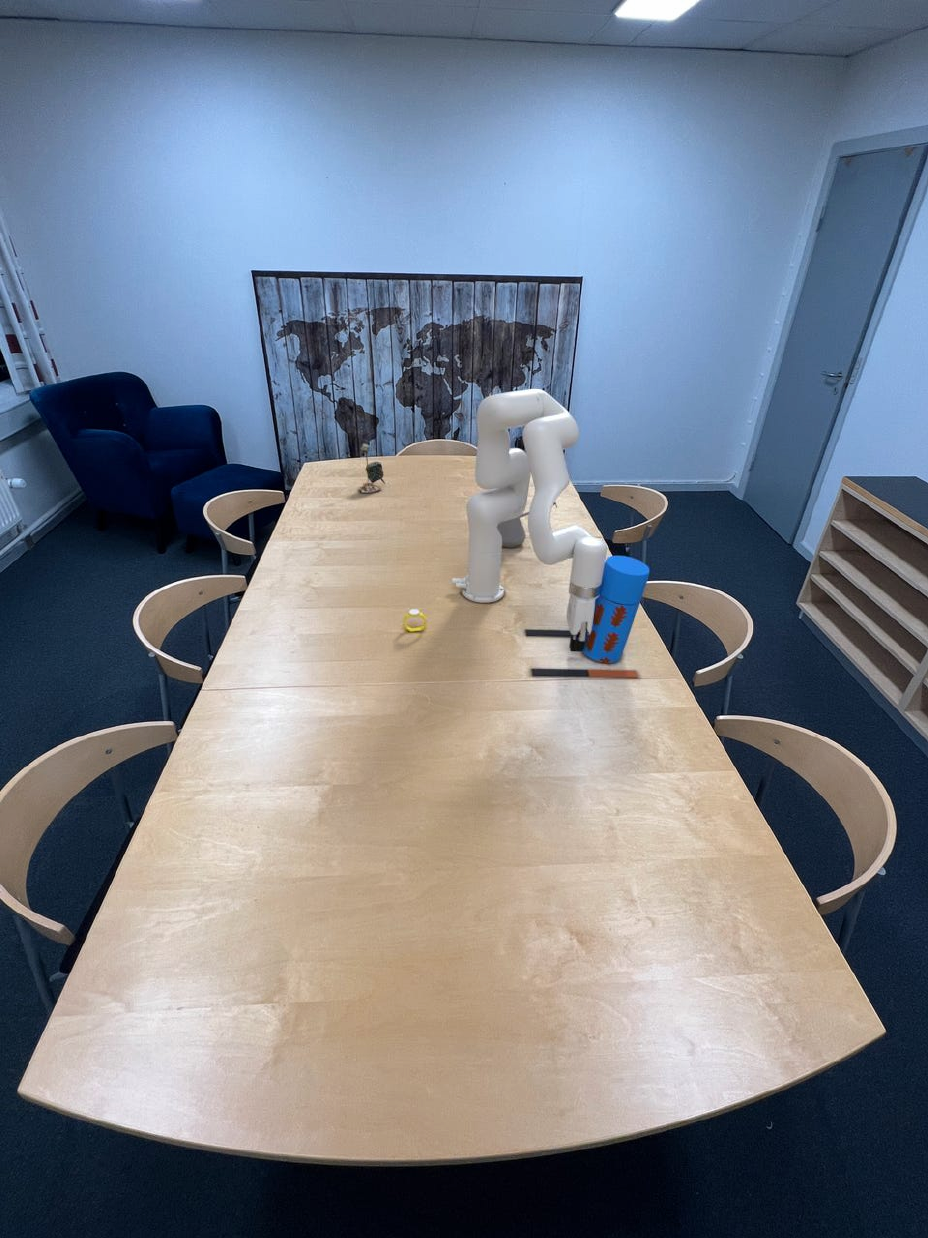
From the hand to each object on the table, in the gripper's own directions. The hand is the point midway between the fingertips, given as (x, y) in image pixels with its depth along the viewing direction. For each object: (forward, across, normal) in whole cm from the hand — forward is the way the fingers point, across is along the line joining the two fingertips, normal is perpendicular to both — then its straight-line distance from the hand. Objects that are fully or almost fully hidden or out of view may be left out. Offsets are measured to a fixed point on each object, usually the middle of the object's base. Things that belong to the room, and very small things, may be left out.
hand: (575, 649), depth 158 cm
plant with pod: (0, -111, -67) cm, 130 cm away
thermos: (+1, -1, +7) cm, 7 cm away
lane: (+2, -1, +1) cm, 2 cm away
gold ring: (+1, -9, -42) cm, 43 cm away
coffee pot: (+1, -66, -9) cm, 66 cm away
